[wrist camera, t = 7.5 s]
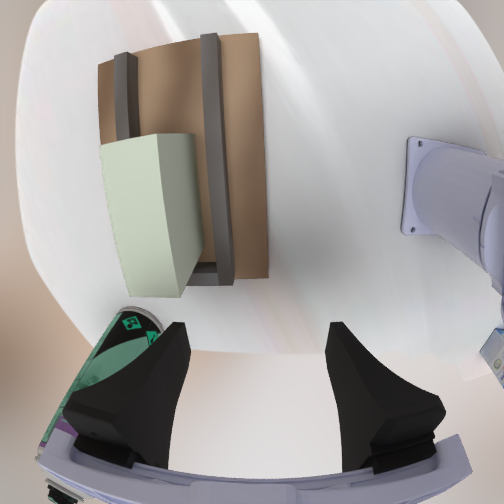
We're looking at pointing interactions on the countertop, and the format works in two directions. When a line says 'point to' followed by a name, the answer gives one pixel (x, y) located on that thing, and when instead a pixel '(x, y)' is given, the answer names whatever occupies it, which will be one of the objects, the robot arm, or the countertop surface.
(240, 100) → the door track
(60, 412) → the spray can
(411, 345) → the countertop surface
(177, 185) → the pale green block
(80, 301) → the countertop surface
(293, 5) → the countertop surface
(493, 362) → the medicine box
